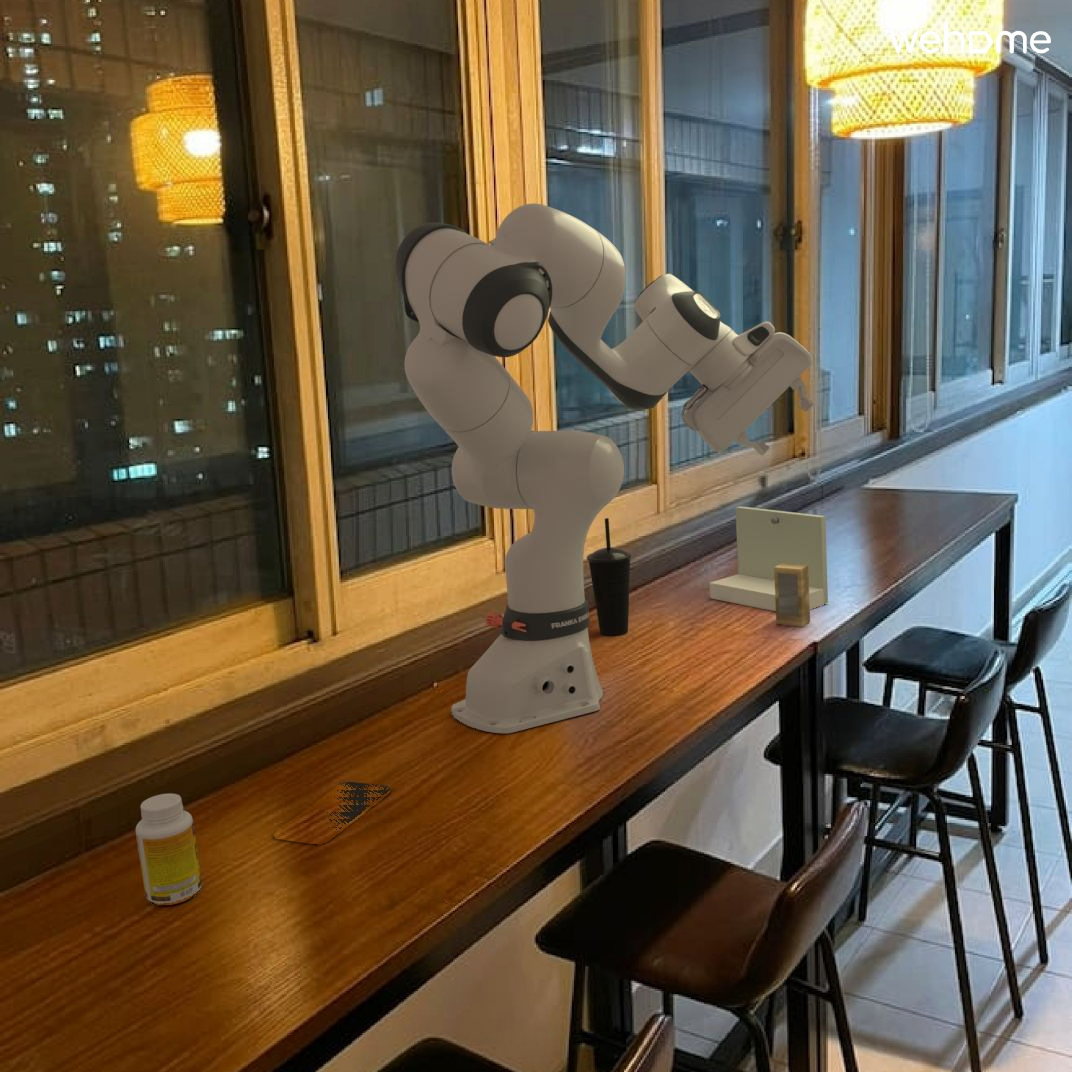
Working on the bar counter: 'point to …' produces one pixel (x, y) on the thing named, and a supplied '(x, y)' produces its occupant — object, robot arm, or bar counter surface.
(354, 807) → the phone
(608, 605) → the drinking cup
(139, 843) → the supplement bottle
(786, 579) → the small box
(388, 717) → the bar counter surface
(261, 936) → the bar counter surface
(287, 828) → the bar counter surface
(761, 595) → the cream l-shaped bookend
